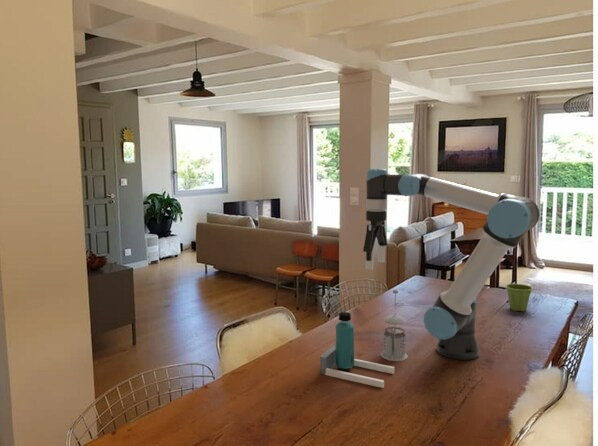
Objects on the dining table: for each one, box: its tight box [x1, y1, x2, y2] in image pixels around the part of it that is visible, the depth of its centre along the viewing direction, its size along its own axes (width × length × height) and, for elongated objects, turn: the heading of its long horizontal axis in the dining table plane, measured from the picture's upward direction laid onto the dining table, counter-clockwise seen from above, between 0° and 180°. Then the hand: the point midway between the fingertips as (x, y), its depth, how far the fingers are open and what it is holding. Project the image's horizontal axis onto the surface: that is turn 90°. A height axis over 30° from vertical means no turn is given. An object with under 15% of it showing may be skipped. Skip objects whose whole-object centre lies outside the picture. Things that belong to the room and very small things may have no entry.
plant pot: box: [505, 283, 534, 312], centre depth 225 cm, size 12×12×11 cm
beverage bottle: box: [334, 311, 355, 370], centre depth 161 cm, size 6×7×20 cm
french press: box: [380, 289, 408, 362], centre depth 170 cm, size 10×12×25 cm
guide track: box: [319, 343, 395, 389], centre depth 158 cm, size 22×12×6 cm, turn 62°
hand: (375, 265), depth 179 cm, fingers open, 13 cm apart
